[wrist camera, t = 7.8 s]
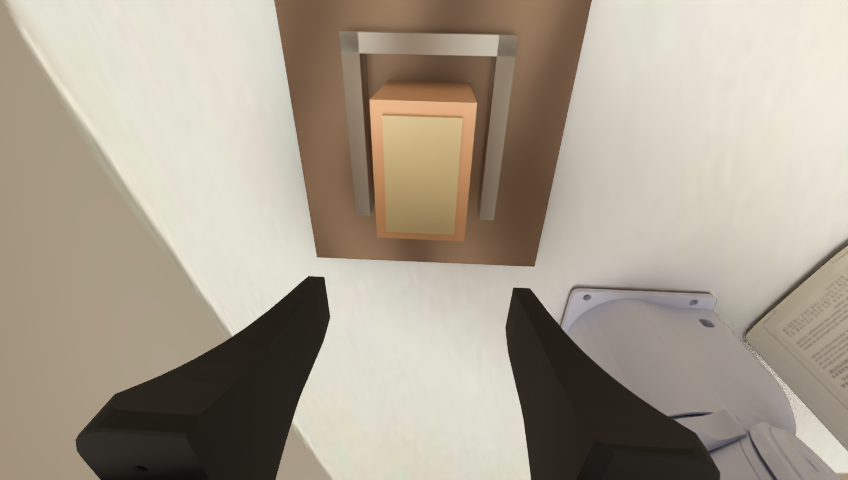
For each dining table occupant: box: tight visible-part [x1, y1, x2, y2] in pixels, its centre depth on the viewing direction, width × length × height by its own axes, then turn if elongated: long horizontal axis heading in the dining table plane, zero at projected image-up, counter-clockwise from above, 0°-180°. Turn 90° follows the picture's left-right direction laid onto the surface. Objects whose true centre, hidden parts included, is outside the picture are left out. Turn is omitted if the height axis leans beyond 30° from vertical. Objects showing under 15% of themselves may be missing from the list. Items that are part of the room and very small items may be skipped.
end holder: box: [275, 0, 592, 267], centre depth 19 cm, size 14×16×2 cm
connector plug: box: [369, 81, 477, 241], centre depth 17 cm, size 4×6×5 cm, turn 179°
